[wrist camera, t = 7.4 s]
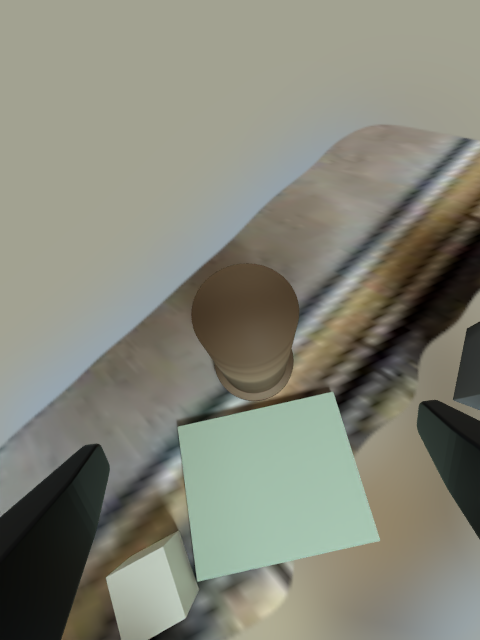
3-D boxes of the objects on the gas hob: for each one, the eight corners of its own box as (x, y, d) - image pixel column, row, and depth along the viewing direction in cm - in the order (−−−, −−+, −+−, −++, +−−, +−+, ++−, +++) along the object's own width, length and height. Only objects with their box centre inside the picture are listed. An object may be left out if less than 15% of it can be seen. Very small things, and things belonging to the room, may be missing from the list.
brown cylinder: (302, 391, 20) (326, 356, 12) (223, 409, 20) (191, 387, 12) (281, 318, 22) (289, 244, 14) (209, 334, 22) (174, 270, 14)
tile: (377, 538, 17) (380, 540, 17) (198, 578, 17) (197, 581, 17) (331, 392, 20) (333, 391, 20) (179, 427, 20) (177, 426, 20)
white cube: (199, 588, 17) (186, 618, 14) (148, 617, 17) (124, 652, 14) (179, 529, 18) (162, 546, 15) (131, 556, 18) (105, 577, 15)
